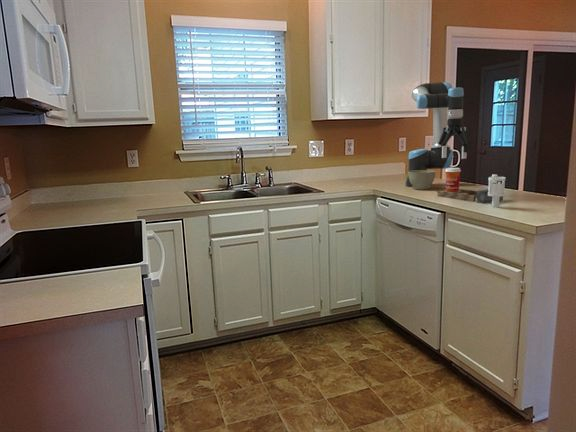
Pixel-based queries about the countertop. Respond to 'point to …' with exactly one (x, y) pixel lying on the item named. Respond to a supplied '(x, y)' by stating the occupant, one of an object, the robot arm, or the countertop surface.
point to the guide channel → (469, 195)
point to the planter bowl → (421, 178)
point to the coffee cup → (452, 179)
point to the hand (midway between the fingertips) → (453, 158)
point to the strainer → (496, 189)
